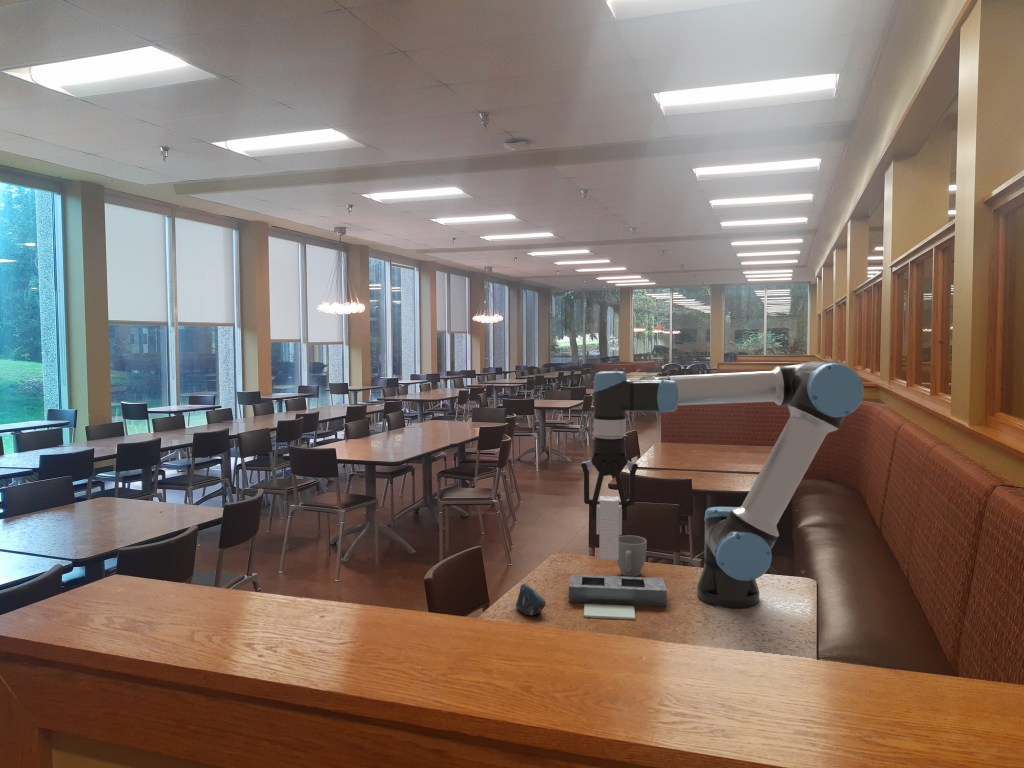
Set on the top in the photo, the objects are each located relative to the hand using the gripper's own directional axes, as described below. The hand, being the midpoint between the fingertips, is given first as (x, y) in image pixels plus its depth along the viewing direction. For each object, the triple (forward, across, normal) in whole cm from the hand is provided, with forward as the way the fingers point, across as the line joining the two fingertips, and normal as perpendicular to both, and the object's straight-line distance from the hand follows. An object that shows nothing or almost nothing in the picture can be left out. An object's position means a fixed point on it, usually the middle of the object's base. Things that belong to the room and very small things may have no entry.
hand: (609, 532), depth 164 cm
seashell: (+20, +18, 0) cm, 27 cm away
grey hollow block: (+19, -2, -10) cm, 22 cm away
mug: (+20, -6, -28) cm, 34 cm away
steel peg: (+6, 0, 0) cm, 6 cm away
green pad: (+19, 0, 0) cm, 19 cm away
